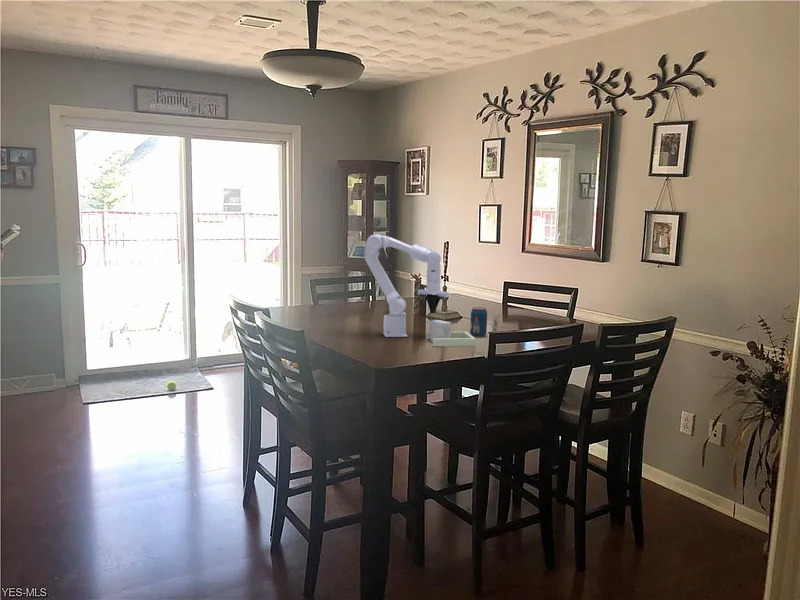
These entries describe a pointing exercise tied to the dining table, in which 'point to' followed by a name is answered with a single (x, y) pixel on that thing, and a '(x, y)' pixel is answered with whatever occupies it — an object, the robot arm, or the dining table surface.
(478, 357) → the dining table surface
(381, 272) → the robot arm
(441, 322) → the medicine box
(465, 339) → the bay
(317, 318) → the dining table surface
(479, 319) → the soda can
